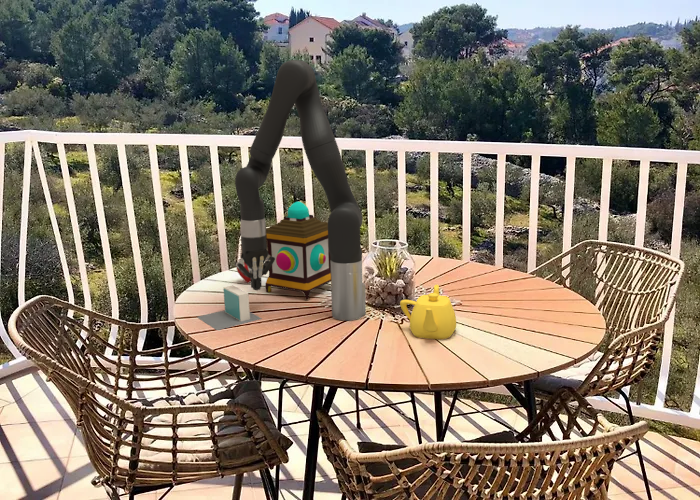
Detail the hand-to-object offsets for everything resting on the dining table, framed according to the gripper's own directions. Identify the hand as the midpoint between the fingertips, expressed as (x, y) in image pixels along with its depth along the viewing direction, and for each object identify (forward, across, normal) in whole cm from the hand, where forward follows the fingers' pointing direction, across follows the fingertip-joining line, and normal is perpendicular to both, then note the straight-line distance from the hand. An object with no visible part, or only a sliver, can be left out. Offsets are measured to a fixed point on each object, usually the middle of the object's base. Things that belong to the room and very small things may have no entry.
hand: (256, 289), depth 199 cm
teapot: (+7, +29, -44) cm, 53 cm away
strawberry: (+7, +12, +29) cm, 32 cm away
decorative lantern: (+7, +22, +10) cm, 25 cm away
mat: (+7, -10, 0) cm, 12 cm away
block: (+7, -7, 0) cm, 10 cm away
